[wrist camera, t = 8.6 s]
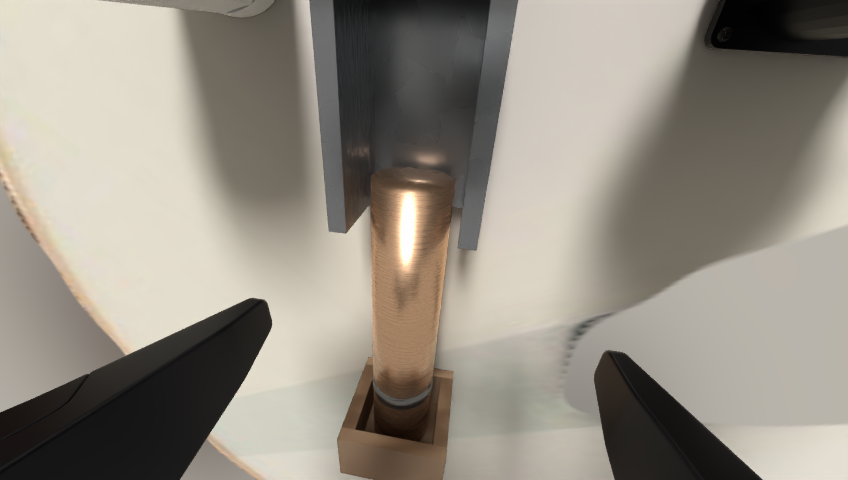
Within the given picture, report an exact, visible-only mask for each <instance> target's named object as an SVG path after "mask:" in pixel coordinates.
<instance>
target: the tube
mask: <svg viewBox="0 0 848 480" xmlns="http://www.w3.org/2000/svg"><path fill="white" fill-rule="evenodd" d="M454 189H455V180H454V179H453V178H452V177H451V176H449V175H447V174H445V173H443V172H440V171H436V170H432V169H426V168H418V167H394V168H387V169H382V170H379V171H377V172H375V173H373V174H372V176H371V230H372V307H373V390H374V429H375V433H376V434H380V435H385V436H390V437H396V438H401V439H406V440H411V441H416V442H419V441H420V440H421V439H422V438H423V436H424V434H425V432H426V428H427V421H428V412H429V403H430V395H431V390H432V384H433V369H434V361H435V352H436V343H437V335H438V326H439V318H440V309H441V301H442V292H443V283H444V275H445V266H446V258H447V249H448V241H449V232H450V223H451V215H452V206H453V198H454Z"/></svg>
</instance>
